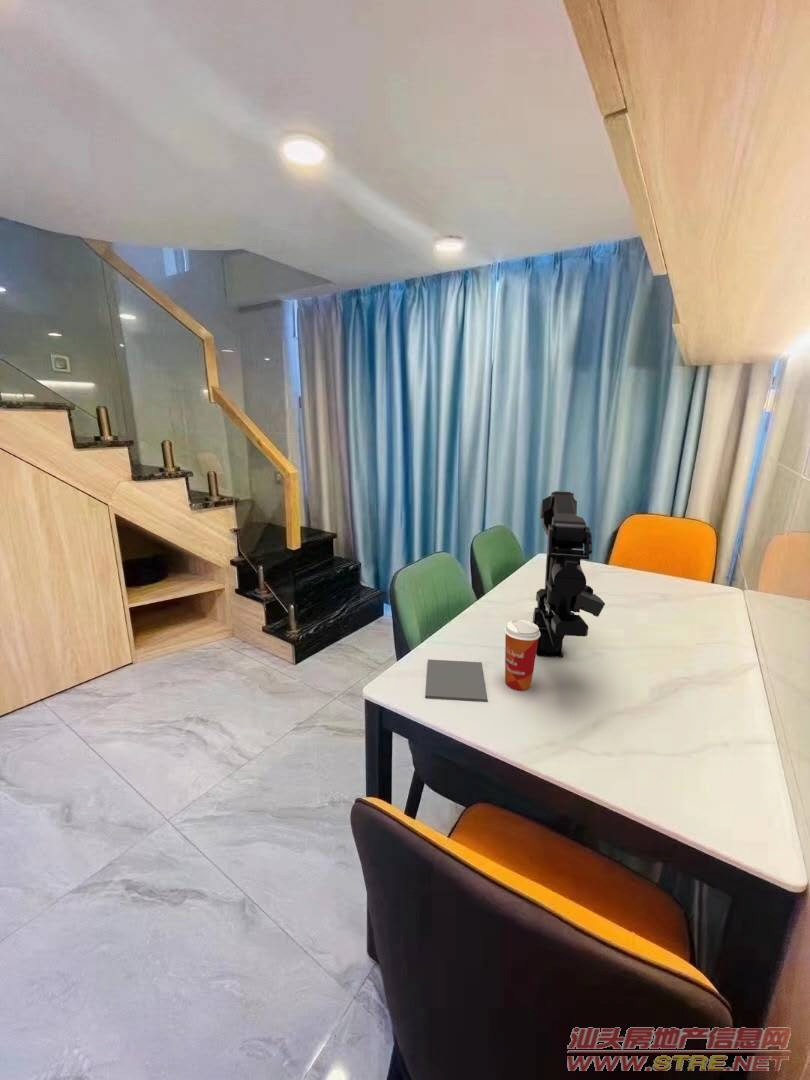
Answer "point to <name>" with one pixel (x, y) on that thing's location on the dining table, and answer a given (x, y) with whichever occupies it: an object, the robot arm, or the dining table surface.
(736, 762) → the dining table surface
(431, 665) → the mat
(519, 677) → the paper cup
